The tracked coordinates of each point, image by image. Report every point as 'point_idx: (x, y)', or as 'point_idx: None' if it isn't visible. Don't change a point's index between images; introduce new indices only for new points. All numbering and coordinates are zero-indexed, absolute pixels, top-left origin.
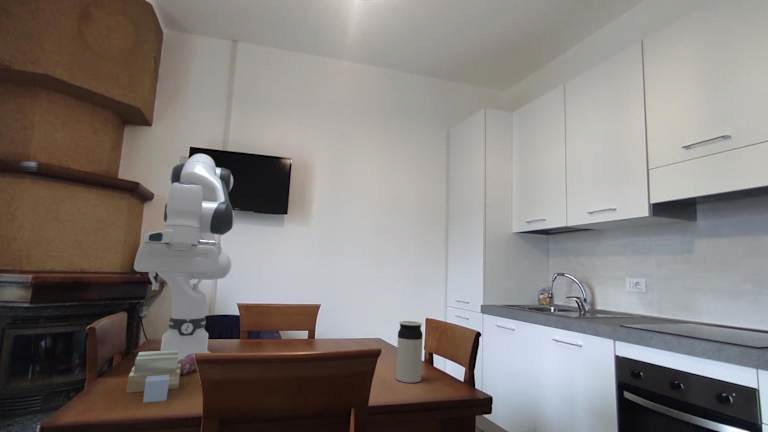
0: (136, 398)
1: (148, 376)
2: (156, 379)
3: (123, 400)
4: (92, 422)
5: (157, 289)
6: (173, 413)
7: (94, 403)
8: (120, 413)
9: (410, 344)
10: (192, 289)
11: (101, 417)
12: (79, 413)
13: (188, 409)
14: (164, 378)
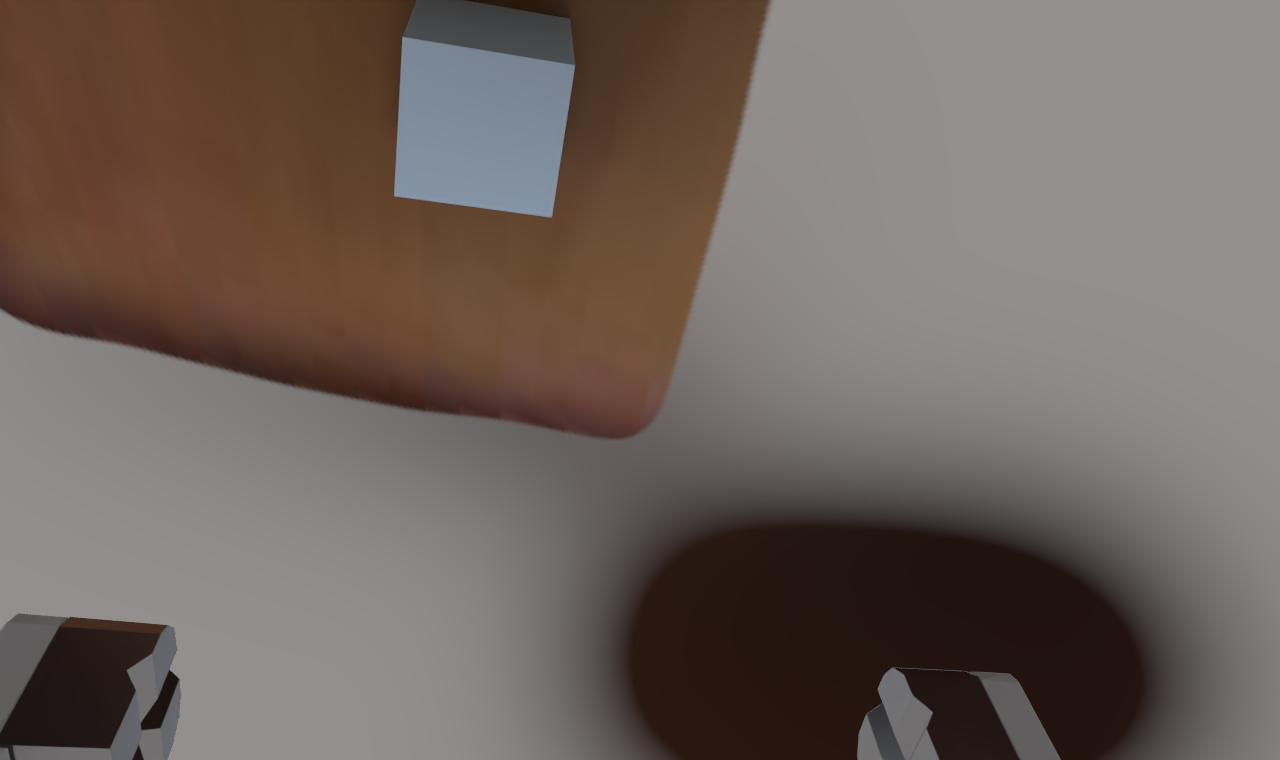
0: (365, 20)
1: (411, 59)
2: (469, 178)
3: (282, 29)
4: (188, 353)
5: (162, 707)
6: (559, 385)
7: (96, 10)
8: (302, 280)
9: None
10: (860, 757)
11: (214, 301)
12: (69, 186)
13: (637, 360)
14: (525, 171)
